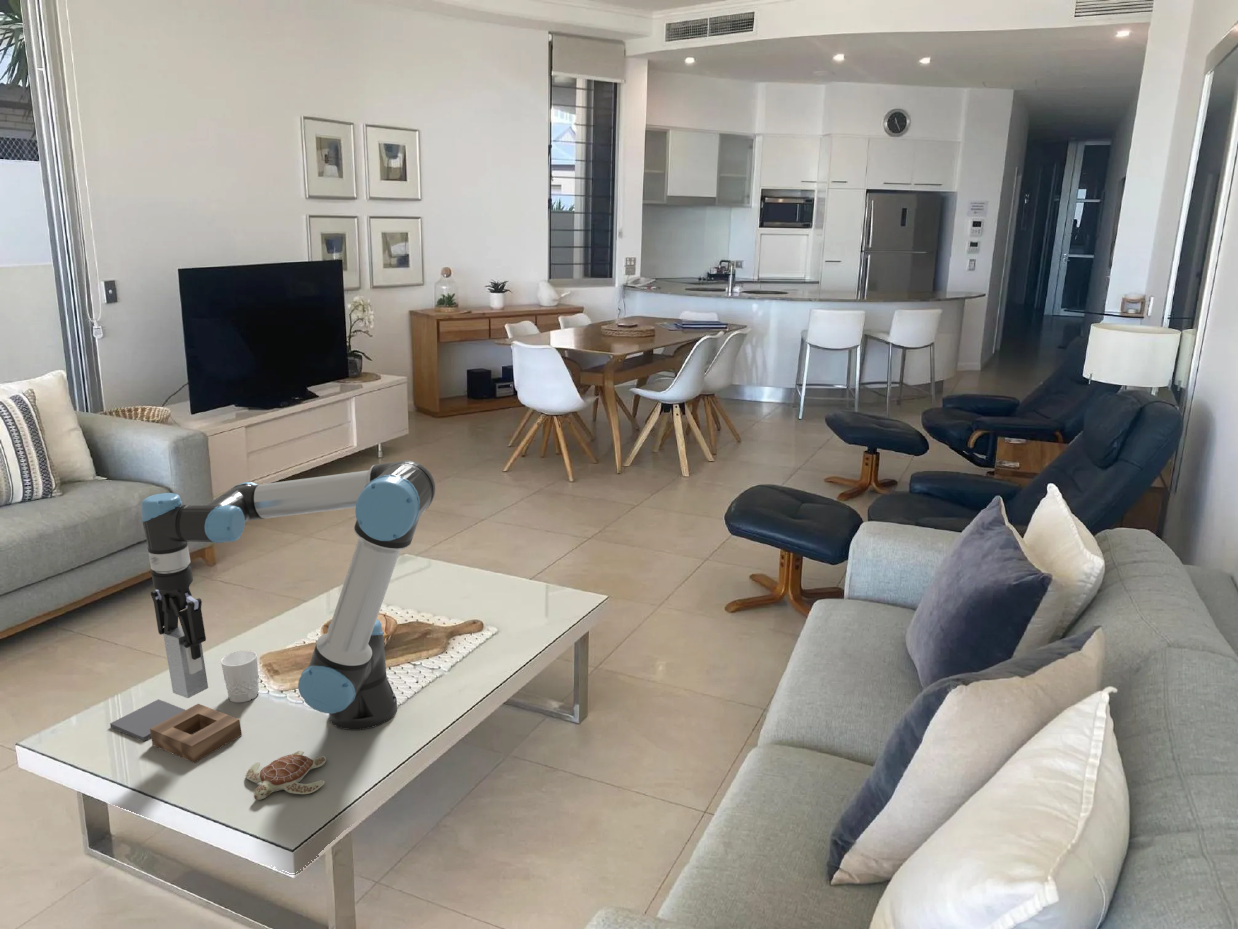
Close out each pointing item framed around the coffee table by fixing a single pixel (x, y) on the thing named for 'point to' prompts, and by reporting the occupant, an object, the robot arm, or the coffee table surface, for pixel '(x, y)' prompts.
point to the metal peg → (183, 665)
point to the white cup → (241, 675)
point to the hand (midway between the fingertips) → (187, 668)
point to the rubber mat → (146, 719)
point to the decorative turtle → (285, 775)
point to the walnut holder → (194, 747)
